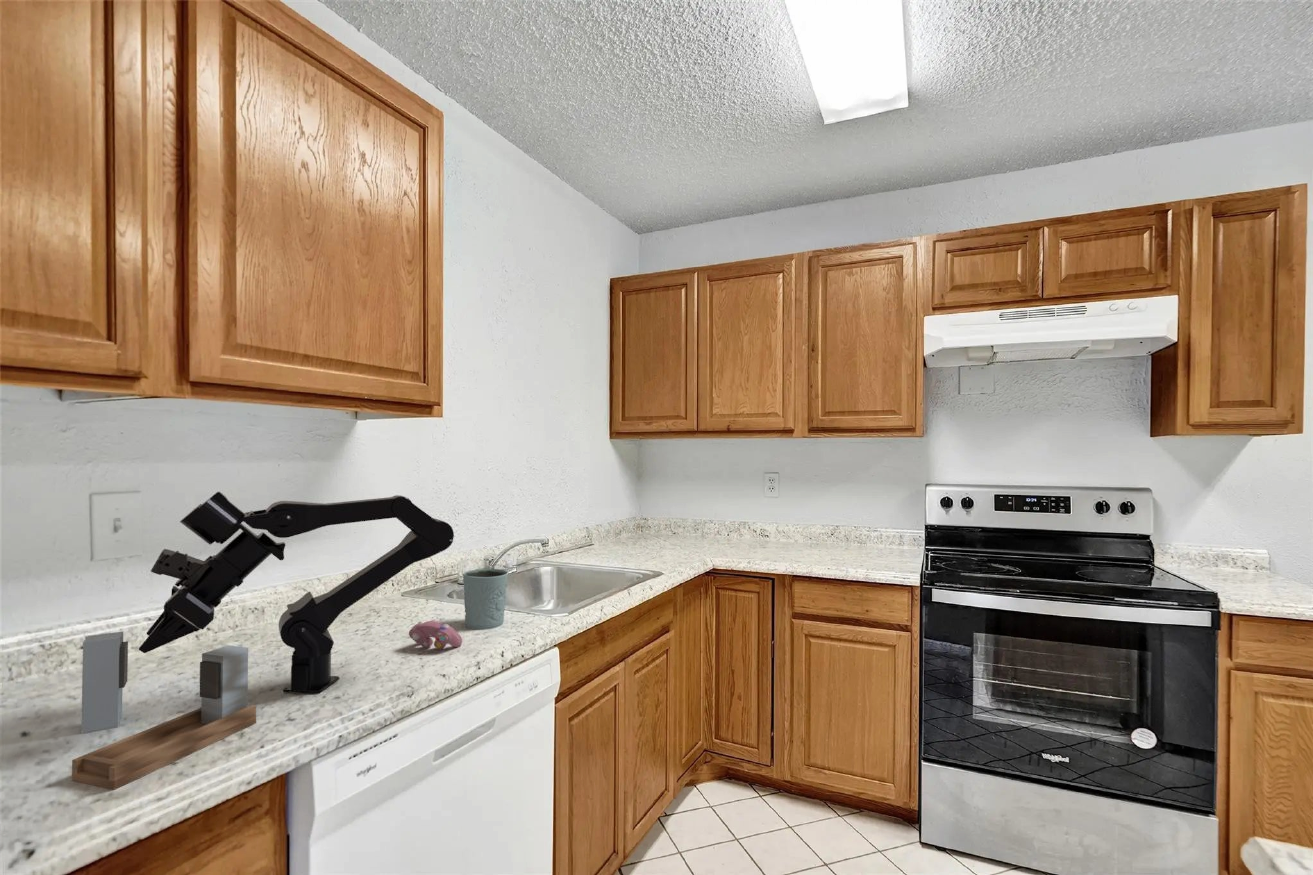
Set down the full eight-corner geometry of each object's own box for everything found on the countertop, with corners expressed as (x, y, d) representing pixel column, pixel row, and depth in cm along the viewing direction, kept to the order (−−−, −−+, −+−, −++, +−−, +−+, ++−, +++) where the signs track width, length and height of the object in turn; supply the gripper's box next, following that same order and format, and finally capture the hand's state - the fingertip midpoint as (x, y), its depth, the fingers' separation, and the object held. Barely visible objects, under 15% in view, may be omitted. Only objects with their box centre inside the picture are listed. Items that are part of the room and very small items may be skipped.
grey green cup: (460, 620, 149) (461, 570, 149) (504, 616, 153) (504, 567, 153) (465, 632, 139) (465, 578, 139) (511, 627, 143) (511, 574, 143)
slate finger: (127, 716, 96) (128, 630, 96) (123, 725, 92) (124, 637, 93) (86, 723, 93) (88, 635, 93) (81, 733, 90) (82, 642, 90)
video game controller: (411, 654, 129) (402, 628, 126) (423, 638, 133) (414, 613, 130) (454, 658, 127) (446, 631, 124) (465, 642, 131) (457, 616, 128)
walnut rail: (218, 716, 95) (219, 644, 96) (256, 722, 93) (257, 648, 94) (71, 780, 77) (73, 690, 77) (114, 789, 75) (116, 697, 75)
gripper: (194, 524, 106) (107, 598, 100) (186, 537, 91) (83, 625, 85) (249, 566, 111) (168, 639, 104) (250, 585, 95) (156, 672, 89)
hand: (145, 643), depth 95 cm, fingers open, 9 cm apart
